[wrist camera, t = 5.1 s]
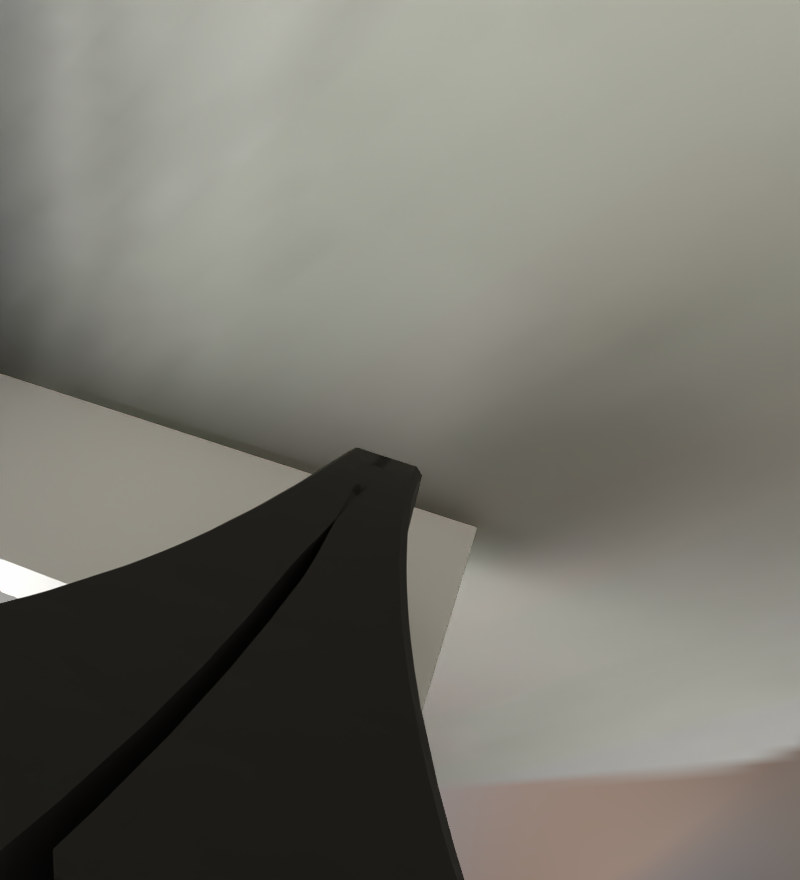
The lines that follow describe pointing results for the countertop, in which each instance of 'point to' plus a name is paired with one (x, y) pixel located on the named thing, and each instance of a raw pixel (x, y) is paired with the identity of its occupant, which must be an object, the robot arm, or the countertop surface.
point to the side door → (163, 504)
